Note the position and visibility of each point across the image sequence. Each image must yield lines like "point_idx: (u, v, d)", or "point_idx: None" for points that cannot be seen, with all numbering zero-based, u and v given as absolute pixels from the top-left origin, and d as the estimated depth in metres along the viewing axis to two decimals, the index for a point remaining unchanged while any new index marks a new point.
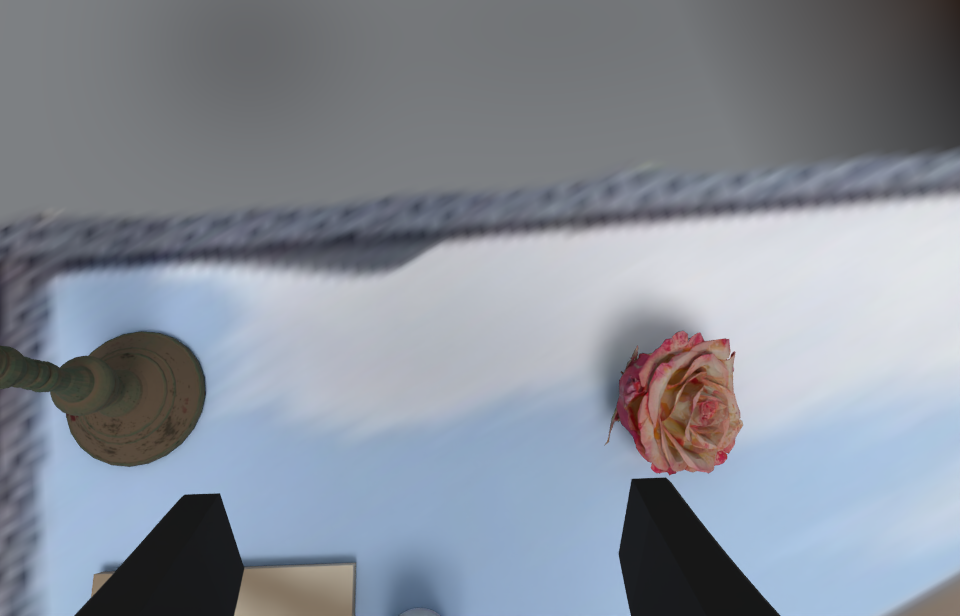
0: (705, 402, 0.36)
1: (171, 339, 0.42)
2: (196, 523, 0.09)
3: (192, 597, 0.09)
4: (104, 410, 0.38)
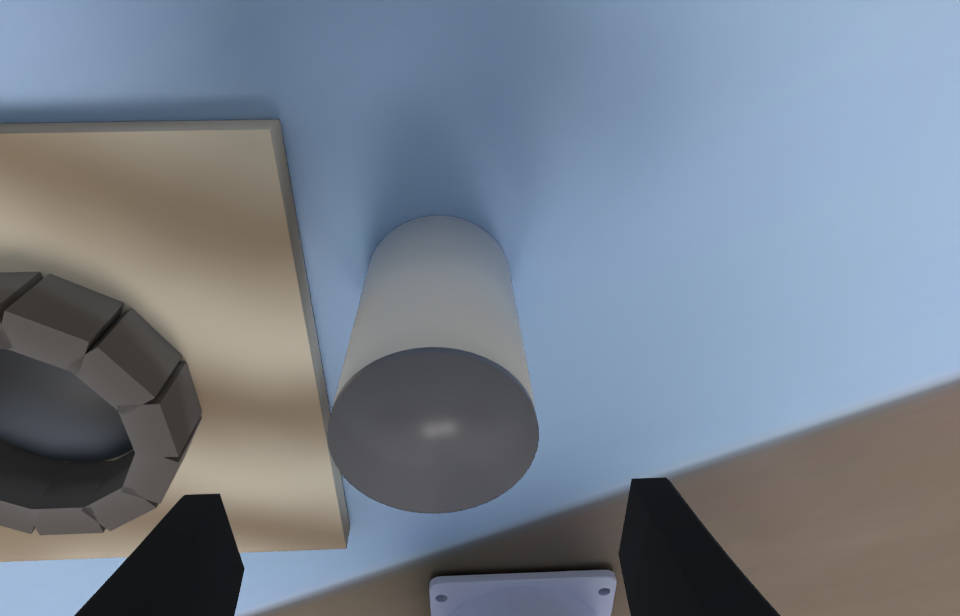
0: None
1: None
2: (196, 523, 0.09)
3: (192, 597, 0.09)
4: None
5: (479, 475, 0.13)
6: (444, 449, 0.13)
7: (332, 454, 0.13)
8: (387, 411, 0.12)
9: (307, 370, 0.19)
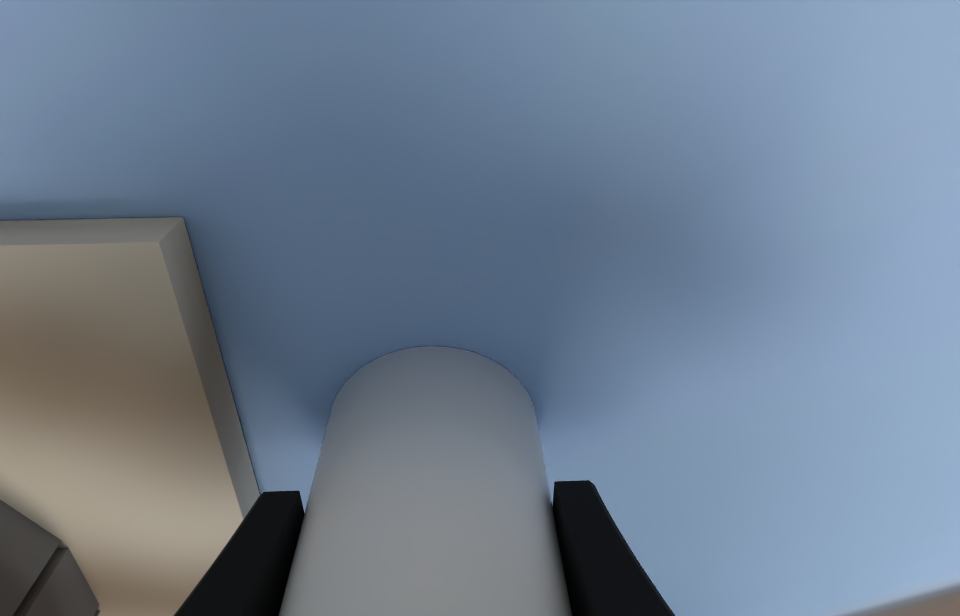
0: None
1: None
2: (282, 520, 0.09)
3: (280, 593, 0.09)
4: None
5: None
6: None
7: None
8: None
9: None
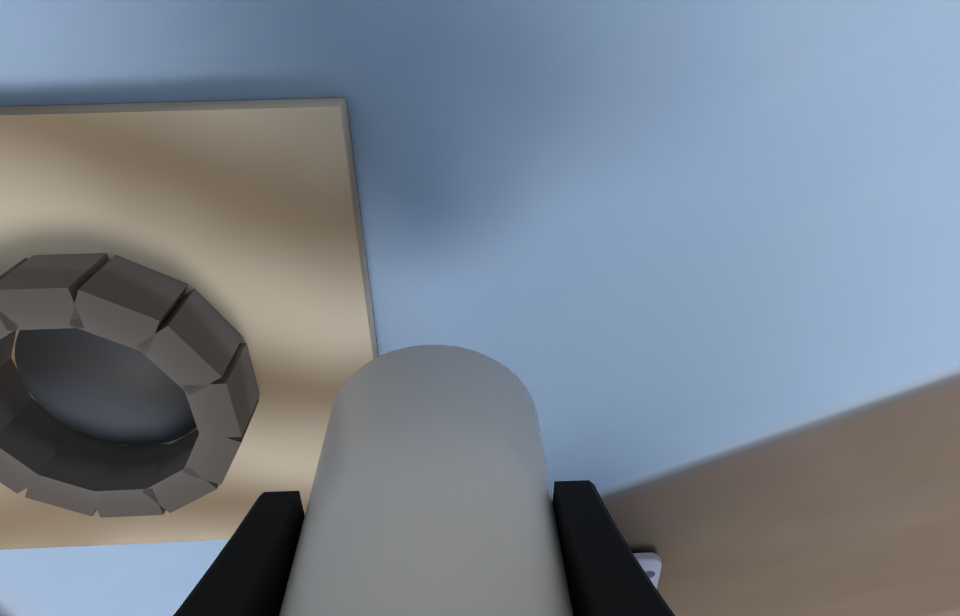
0: None
1: None
2: (282, 520, 0.09)
3: (280, 593, 0.09)
4: None
5: None
6: None
7: None
8: None
9: (365, 351, 0.19)
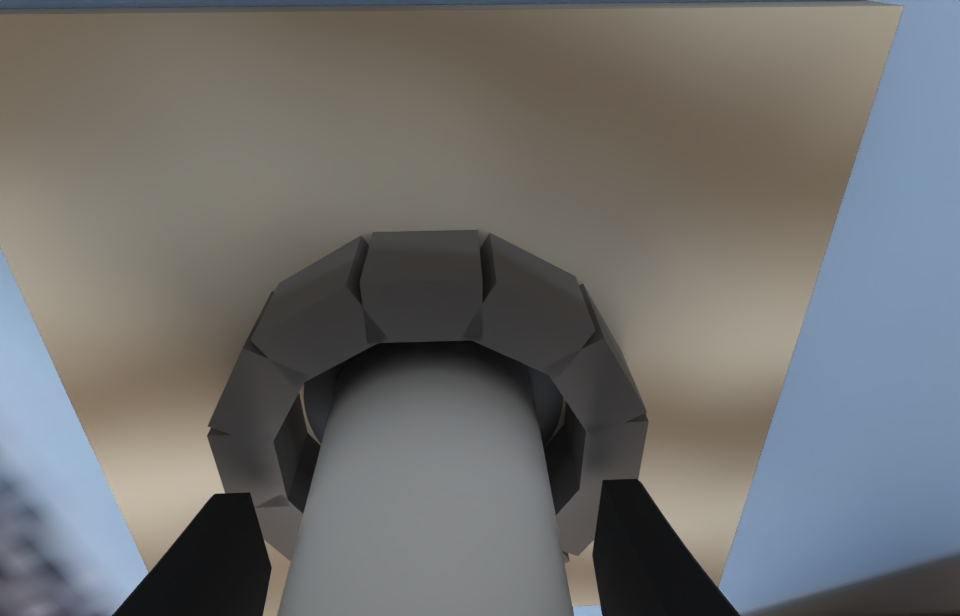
0: None
1: None
2: (229, 522, 0.09)
3: (226, 596, 0.09)
4: None
5: None
6: None
7: None
8: None
9: (779, 372, 0.14)
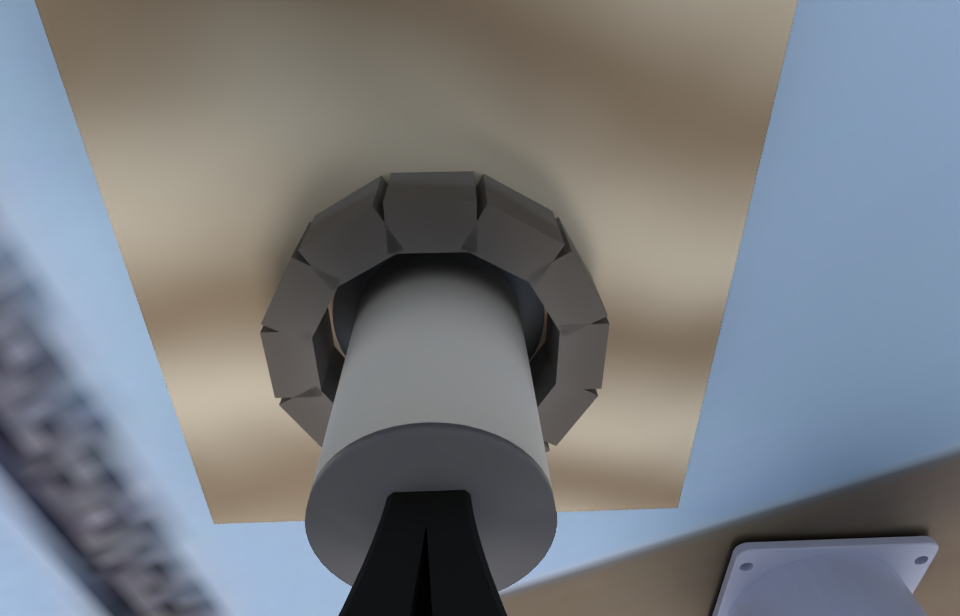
0: None
1: None
2: (423, 515, 0.10)
3: (425, 587, 0.09)
4: None
5: None
6: None
7: (311, 542, 0.11)
8: (376, 496, 0.10)
9: (721, 295, 0.17)
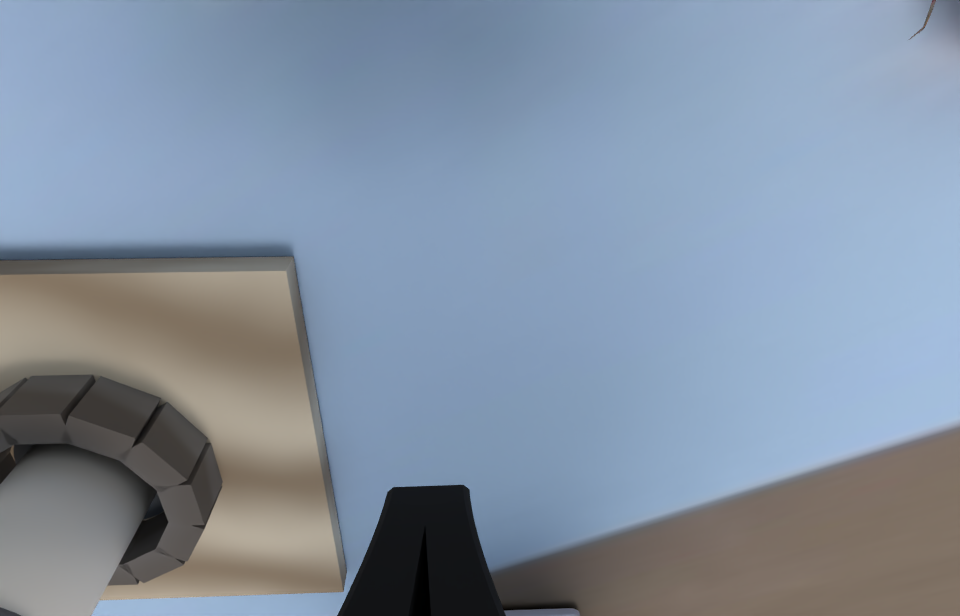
0: None
1: None
2: (422, 515, 0.10)
3: (424, 587, 0.09)
4: None
5: None
6: None
7: None
8: None
9: (312, 450, 0.22)
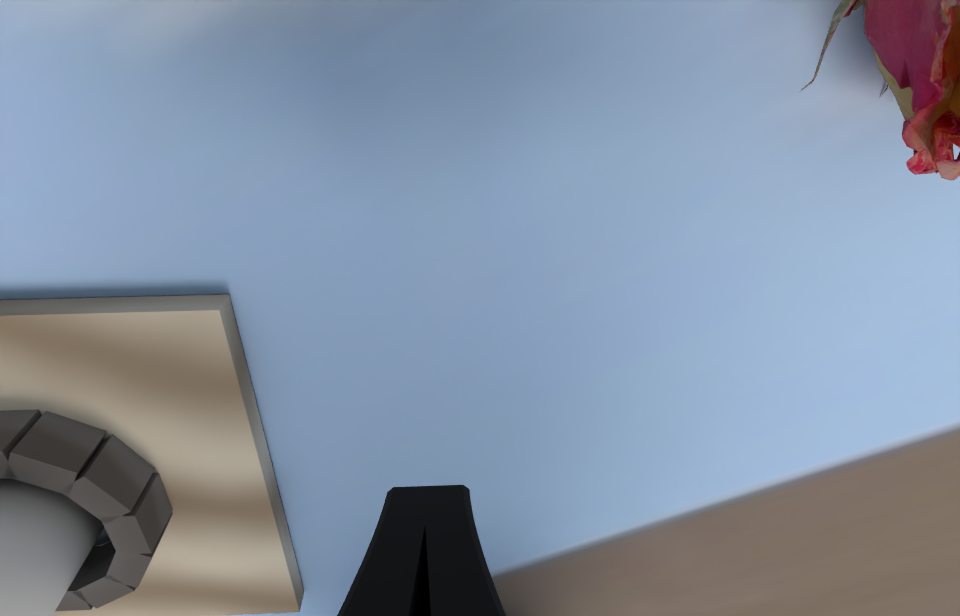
0: None
1: None
2: (422, 515, 0.10)
3: (424, 588, 0.09)
4: None
5: None
6: None
7: None
8: None
9: (258, 478, 0.23)
